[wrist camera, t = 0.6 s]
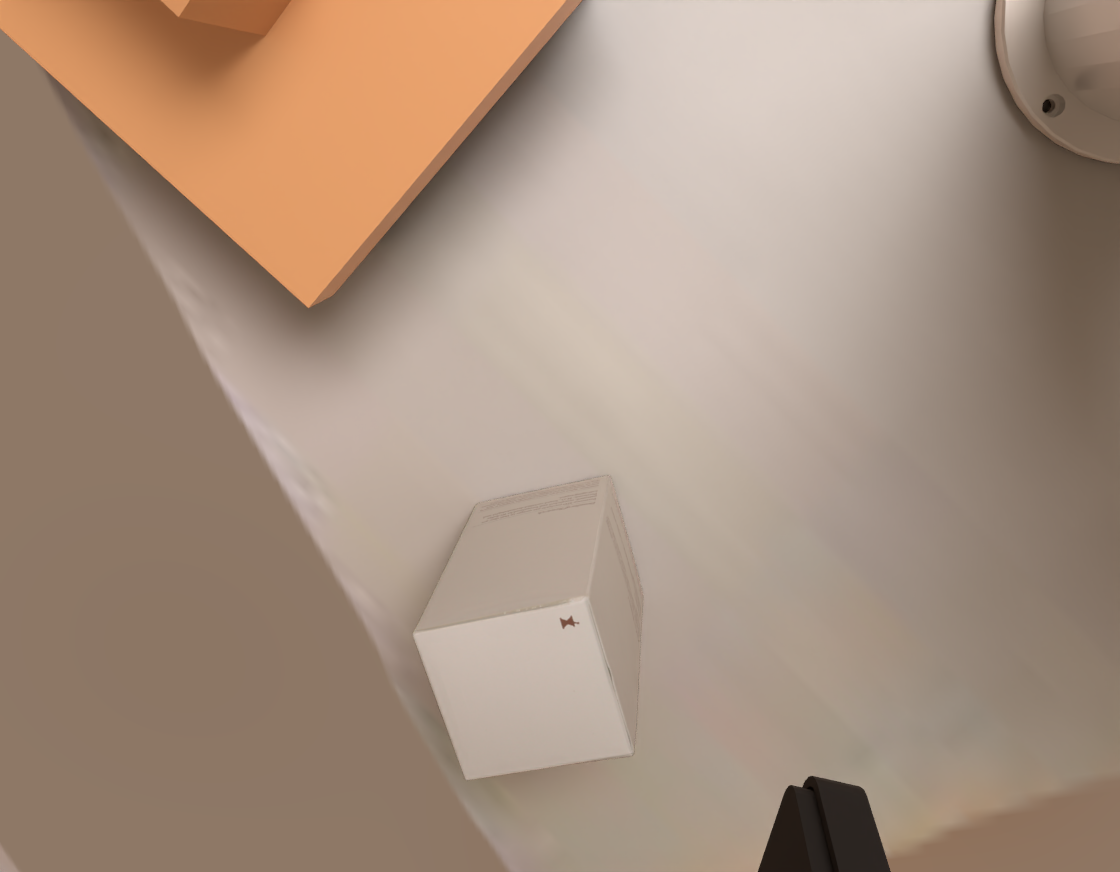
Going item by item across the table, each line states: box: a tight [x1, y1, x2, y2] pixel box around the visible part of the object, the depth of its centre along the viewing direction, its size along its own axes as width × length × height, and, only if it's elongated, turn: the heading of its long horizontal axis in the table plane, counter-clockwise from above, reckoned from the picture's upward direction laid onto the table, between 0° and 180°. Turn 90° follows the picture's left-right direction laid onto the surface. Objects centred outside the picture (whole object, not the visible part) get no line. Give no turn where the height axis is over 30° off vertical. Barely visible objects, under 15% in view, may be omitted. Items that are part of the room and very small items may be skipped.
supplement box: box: [413, 475, 644, 780], centre depth 41 cm, size 7×7×13 cm
